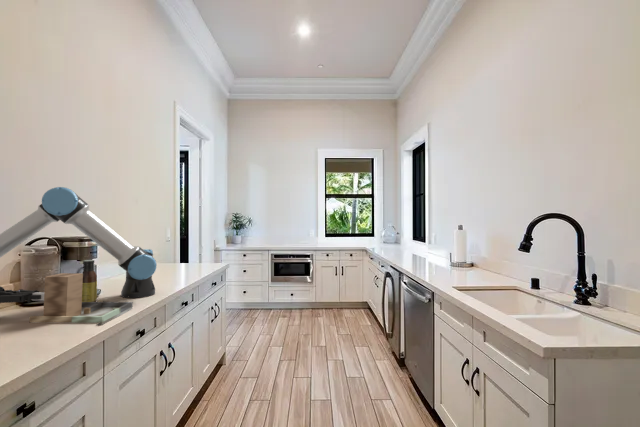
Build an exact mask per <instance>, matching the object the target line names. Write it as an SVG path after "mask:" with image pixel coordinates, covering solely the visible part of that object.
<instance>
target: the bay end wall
mask: <svg viewBox="0 0 640 427" xmlns="http://www.w3.org/2000/svg"><path fill="white" fill-rule="evenodd" d="M117 314H119V309H115V310H113V311H111V312H108V313H106V314H104V315H102V316H104V321H106V320H108V319H110V318H112V317H113V316H115V315H117Z"/></svg>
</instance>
